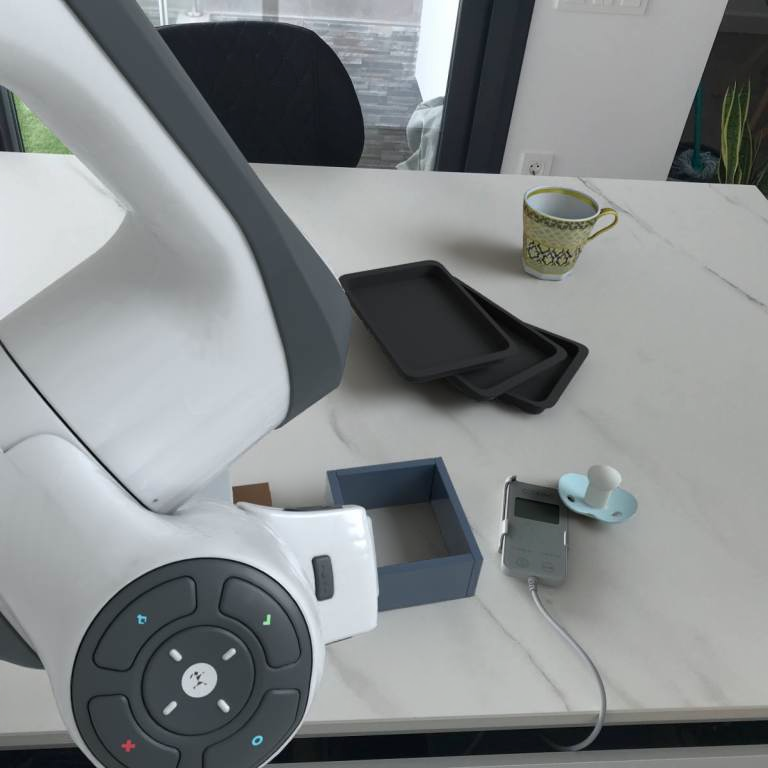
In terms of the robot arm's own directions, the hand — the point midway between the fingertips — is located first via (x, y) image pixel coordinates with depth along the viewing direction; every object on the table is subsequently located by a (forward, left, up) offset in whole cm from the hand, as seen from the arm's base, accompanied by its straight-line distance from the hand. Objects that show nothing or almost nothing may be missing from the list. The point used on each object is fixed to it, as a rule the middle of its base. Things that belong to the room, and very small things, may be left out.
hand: (201, 558), depth 51 cm
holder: (+16, +7, -12) cm, 22 cm away
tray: (+29, +33, -12) cm, 46 cm away
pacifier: (+36, +9, -12) cm, 39 cm away
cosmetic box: (0, +11, -11) cm, 16 cm away
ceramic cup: (+50, +50, -12) cm, 72 cm away
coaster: (0, +11, -12) cm, 17 cm away
